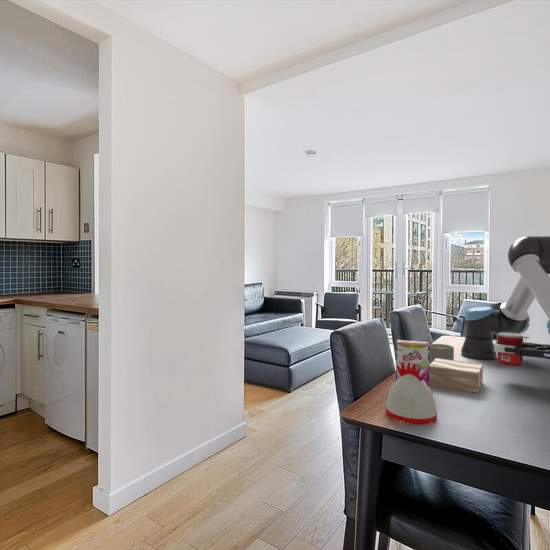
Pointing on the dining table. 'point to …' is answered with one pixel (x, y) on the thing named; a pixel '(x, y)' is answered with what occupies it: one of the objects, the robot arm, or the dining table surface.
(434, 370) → the oak box
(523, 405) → the dining table surface
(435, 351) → the coffee mug
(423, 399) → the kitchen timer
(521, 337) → the canned food
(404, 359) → the candy bar box
